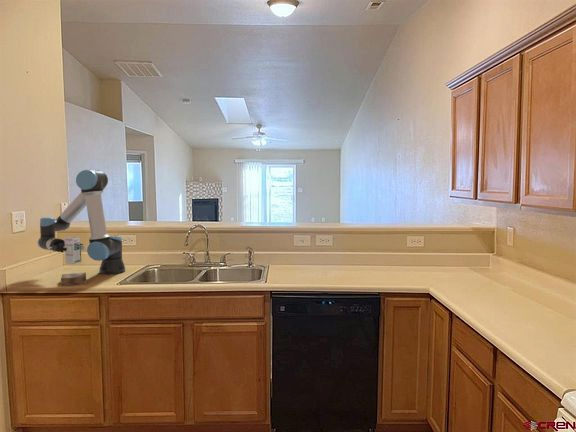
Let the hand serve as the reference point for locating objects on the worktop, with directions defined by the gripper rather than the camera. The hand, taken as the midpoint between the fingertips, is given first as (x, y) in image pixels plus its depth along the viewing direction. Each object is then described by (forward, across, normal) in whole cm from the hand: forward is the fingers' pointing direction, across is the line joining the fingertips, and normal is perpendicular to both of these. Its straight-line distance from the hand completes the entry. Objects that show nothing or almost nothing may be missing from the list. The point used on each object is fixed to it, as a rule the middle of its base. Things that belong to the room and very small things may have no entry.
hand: (77, 248), depth 215 cm
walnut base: (-5, 0, -20) cm, 20 cm away
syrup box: (-5, 0, -9) cm, 10 cm away
